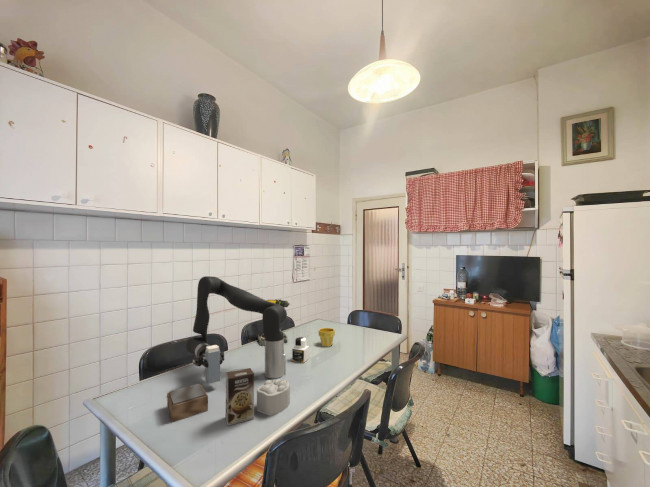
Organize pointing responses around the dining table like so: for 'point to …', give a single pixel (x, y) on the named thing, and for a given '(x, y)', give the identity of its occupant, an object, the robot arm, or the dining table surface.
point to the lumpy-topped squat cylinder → (273, 397)
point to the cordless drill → (260, 336)
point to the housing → (212, 364)
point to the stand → (187, 402)
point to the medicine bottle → (300, 350)
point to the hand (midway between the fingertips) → (214, 363)
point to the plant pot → (326, 336)
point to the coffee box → (239, 396)
